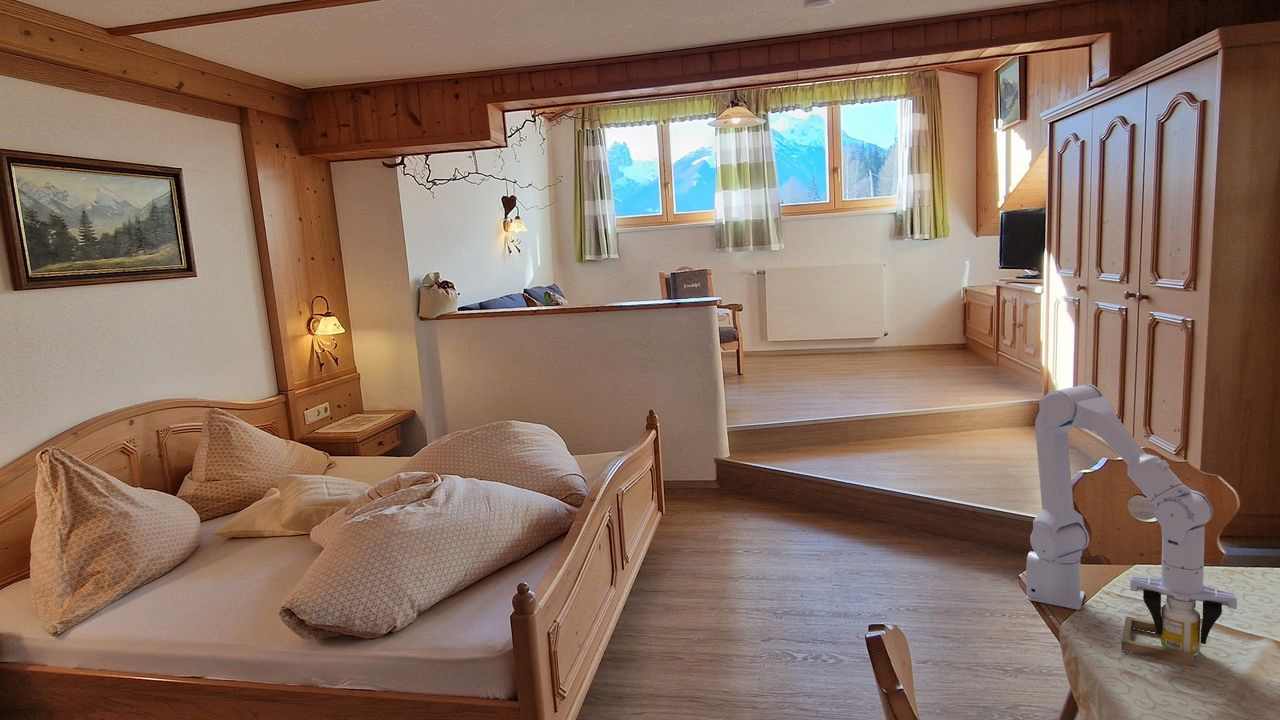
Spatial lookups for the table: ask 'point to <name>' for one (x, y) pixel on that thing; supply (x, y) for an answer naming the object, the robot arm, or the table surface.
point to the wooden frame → (1149, 649)
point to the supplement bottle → (1180, 625)
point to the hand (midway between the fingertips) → (1180, 636)
